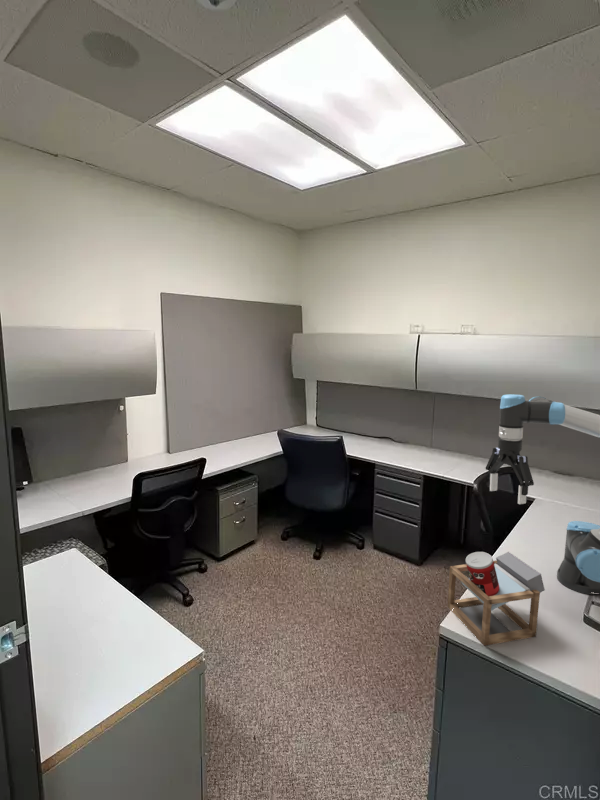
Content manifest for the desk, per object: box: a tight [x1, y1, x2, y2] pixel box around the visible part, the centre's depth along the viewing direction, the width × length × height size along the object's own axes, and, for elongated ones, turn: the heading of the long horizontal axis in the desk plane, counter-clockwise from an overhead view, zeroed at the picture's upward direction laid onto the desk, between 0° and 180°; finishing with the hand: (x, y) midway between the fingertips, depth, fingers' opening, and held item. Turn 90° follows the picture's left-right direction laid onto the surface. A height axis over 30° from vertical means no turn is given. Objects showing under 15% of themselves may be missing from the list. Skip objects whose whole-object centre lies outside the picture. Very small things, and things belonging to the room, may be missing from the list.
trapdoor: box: [460, 551, 546, 612], centre depth 133 cm, size 19×15×6 cm
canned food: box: [465, 551, 499, 596], centre depth 131 cm, size 8×8×11 cm
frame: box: [447, 560, 541, 646], centre depth 133 cm, size 18×19×14 cm
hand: (507, 496), depth 150 cm, fingers open, 13 cm apart
